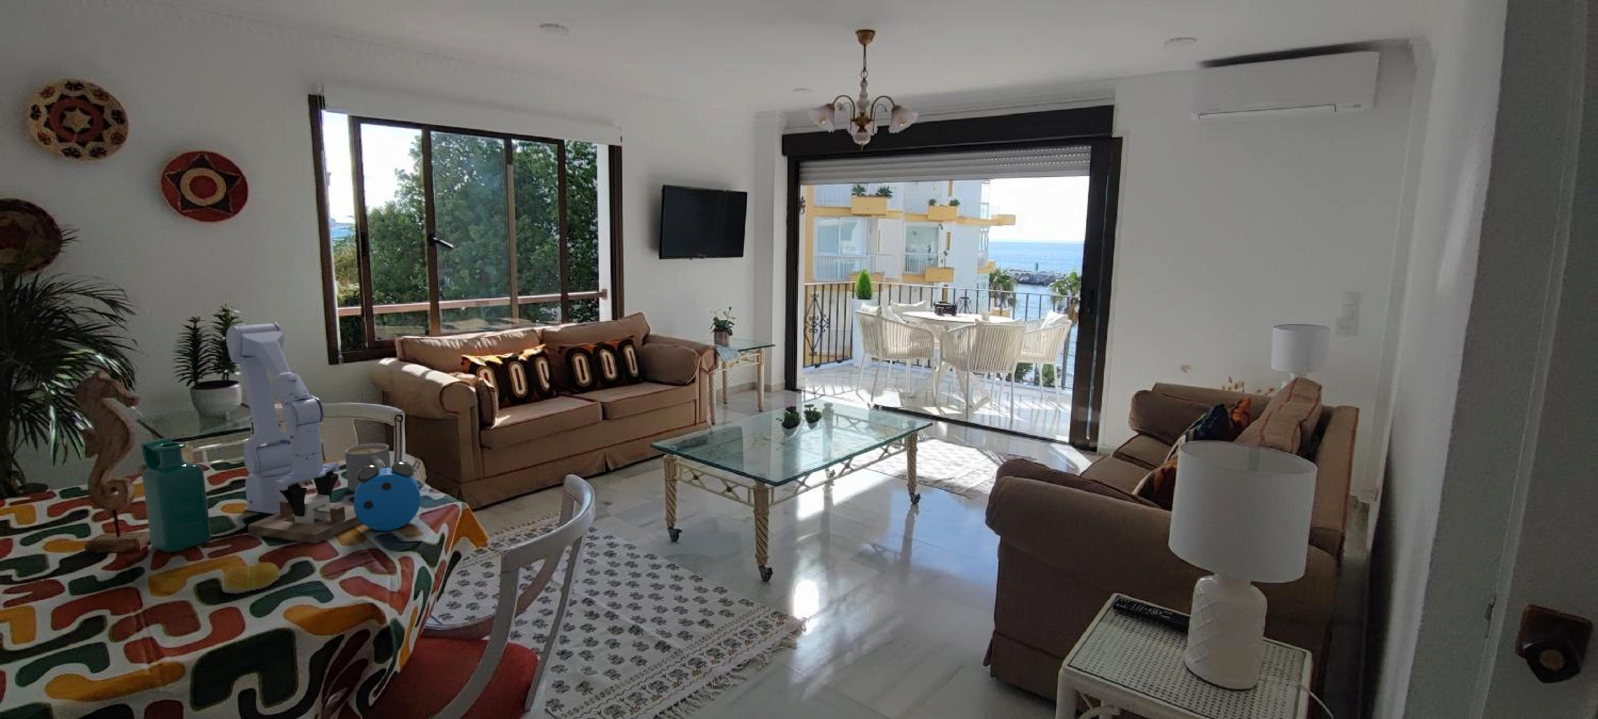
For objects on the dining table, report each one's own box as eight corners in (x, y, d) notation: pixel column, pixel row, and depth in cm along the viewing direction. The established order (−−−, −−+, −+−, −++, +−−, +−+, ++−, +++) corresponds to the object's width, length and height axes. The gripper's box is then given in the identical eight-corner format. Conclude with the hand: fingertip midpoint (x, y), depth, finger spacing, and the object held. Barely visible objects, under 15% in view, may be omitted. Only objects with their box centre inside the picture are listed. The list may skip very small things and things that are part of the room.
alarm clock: (421, 517, 179) (417, 456, 176) (422, 527, 173) (418, 463, 171) (356, 527, 172) (351, 463, 170) (356, 537, 167) (350, 471, 164)
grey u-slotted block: (295, 525, 171) (293, 502, 170) (316, 516, 176) (314, 493, 175) (310, 527, 170) (307, 503, 169) (331, 518, 175) (329, 495, 174)
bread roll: (280, 587, 145) (278, 567, 144) (221, 598, 140) (219, 578, 139) (280, 570, 151) (278, 551, 151) (224, 581, 146) (221, 561, 146)
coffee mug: (344, 484, 200) (341, 447, 198) (386, 476, 206) (384, 441, 204) (355, 498, 190) (351, 459, 188) (398, 490, 196) (396, 452, 194)
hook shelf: (249, 533, 168) (246, 511, 167) (311, 508, 183) (309, 488, 182) (315, 543, 163) (313, 521, 162) (374, 516, 179) (372, 496, 178)
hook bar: (284, 508, 174) (284, 502, 173) (290, 506, 175) (289, 500, 175) (335, 515, 170) (334, 509, 170) (340, 513, 172) (339, 507, 171)
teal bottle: (215, 540, 164) (204, 441, 160) (170, 554, 156) (156, 451, 153) (189, 531, 168) (177, 434, 164) (143, 545, 161) (130, 444, 157)
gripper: (292, 463, 162) (298, 524, 165) (348, 445, 176) (352, 501, 179) (266, 460, 164) (272, 520, 166) (323, 442, 178) (328, 498, 180)
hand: (312, 510), depth 173 cm, fingers open, 6 cm apart
